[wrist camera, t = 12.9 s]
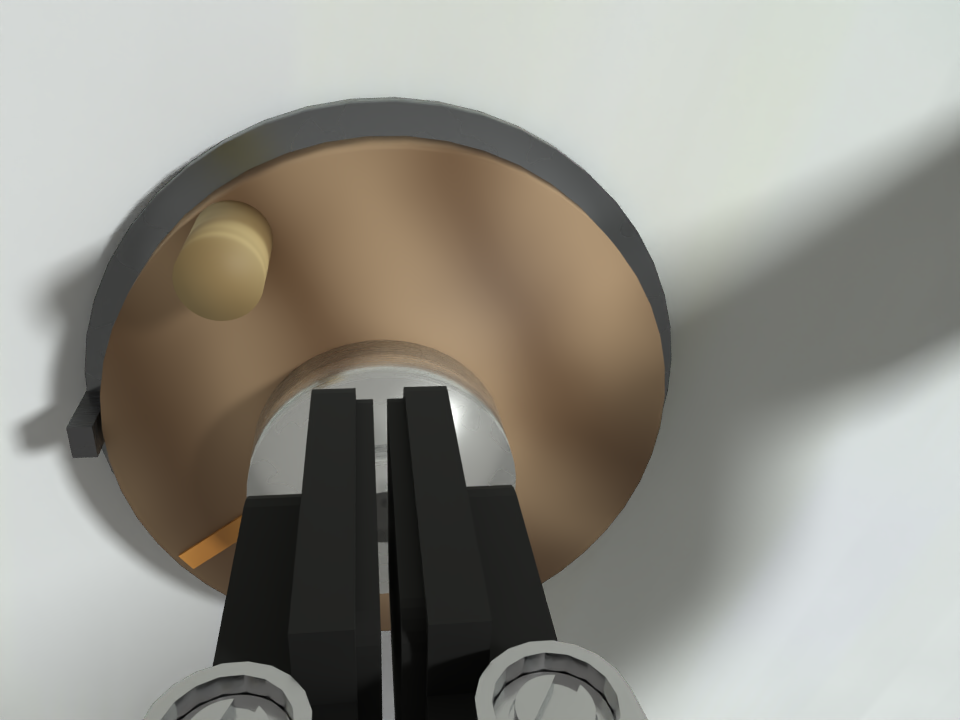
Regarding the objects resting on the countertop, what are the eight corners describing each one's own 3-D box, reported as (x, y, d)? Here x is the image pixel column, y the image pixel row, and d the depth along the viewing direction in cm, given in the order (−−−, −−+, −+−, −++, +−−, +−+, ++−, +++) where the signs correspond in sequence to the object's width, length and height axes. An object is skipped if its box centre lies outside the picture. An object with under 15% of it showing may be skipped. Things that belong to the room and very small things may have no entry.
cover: (411, 291, 27) (421, 344, 24) (546, 465, 31) (571, 531, 28) (198, 433, 28) (179, 504, 25) (356, 581, 33) (358, 659, 29)
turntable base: (710, 106, 29) (750, 126, 26) (624, 582, 39) (646, 634, 36) (36, 86, 25) (-2, 106, 22) (136, 614, 35) (118, 673, 33)
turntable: (473, 6, 25) (503, 25, 20) (728, 439, 34) (788, 520, 30) (-18, 355, 28) (-89, 441, 23) (341, 667, 37) (341, 773, 33)
